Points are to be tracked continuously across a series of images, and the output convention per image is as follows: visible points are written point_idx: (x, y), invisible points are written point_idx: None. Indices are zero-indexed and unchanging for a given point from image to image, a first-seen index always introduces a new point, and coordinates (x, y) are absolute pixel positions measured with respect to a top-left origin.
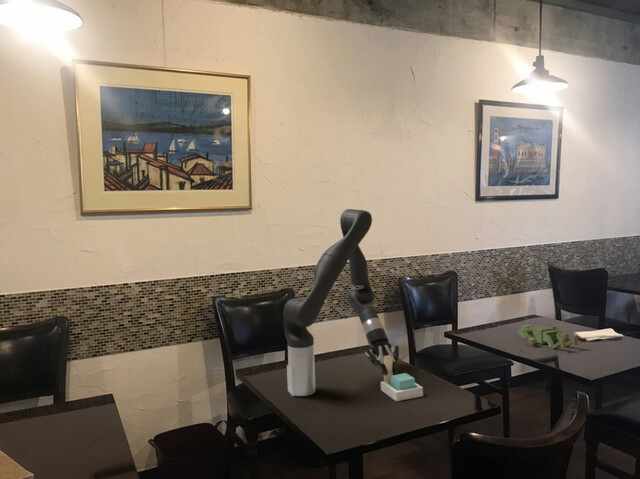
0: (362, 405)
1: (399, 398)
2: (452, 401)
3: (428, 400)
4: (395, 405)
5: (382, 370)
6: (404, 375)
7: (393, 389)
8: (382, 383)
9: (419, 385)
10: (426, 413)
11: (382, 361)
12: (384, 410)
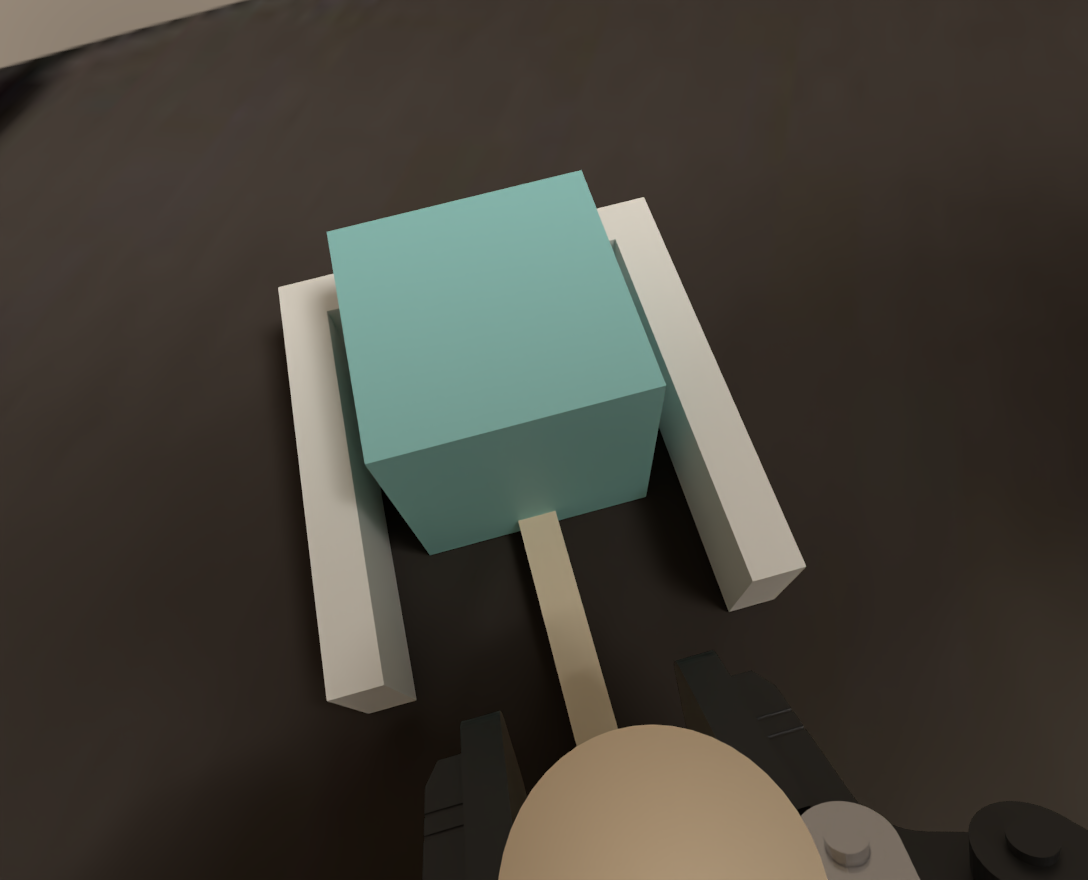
0: (1005, 222)
1: None
2: (116, 213)
3: (313, 253)
4: (663, 192)
5: (791, 723)
6: (430, 361)
7: (655, 276)
8: (778, 509)
9: (287, 349)
10: (443, 56)
11: (834, 866)
12: (783, 120)
